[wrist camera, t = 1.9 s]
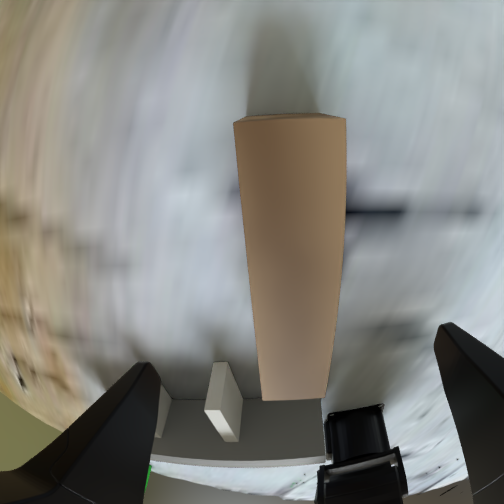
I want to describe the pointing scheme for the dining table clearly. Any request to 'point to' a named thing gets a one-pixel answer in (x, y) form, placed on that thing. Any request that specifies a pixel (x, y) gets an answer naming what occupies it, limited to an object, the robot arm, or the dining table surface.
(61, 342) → the dining table surface
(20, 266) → the dining table surface
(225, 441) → the slab with two fins
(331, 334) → the rail
